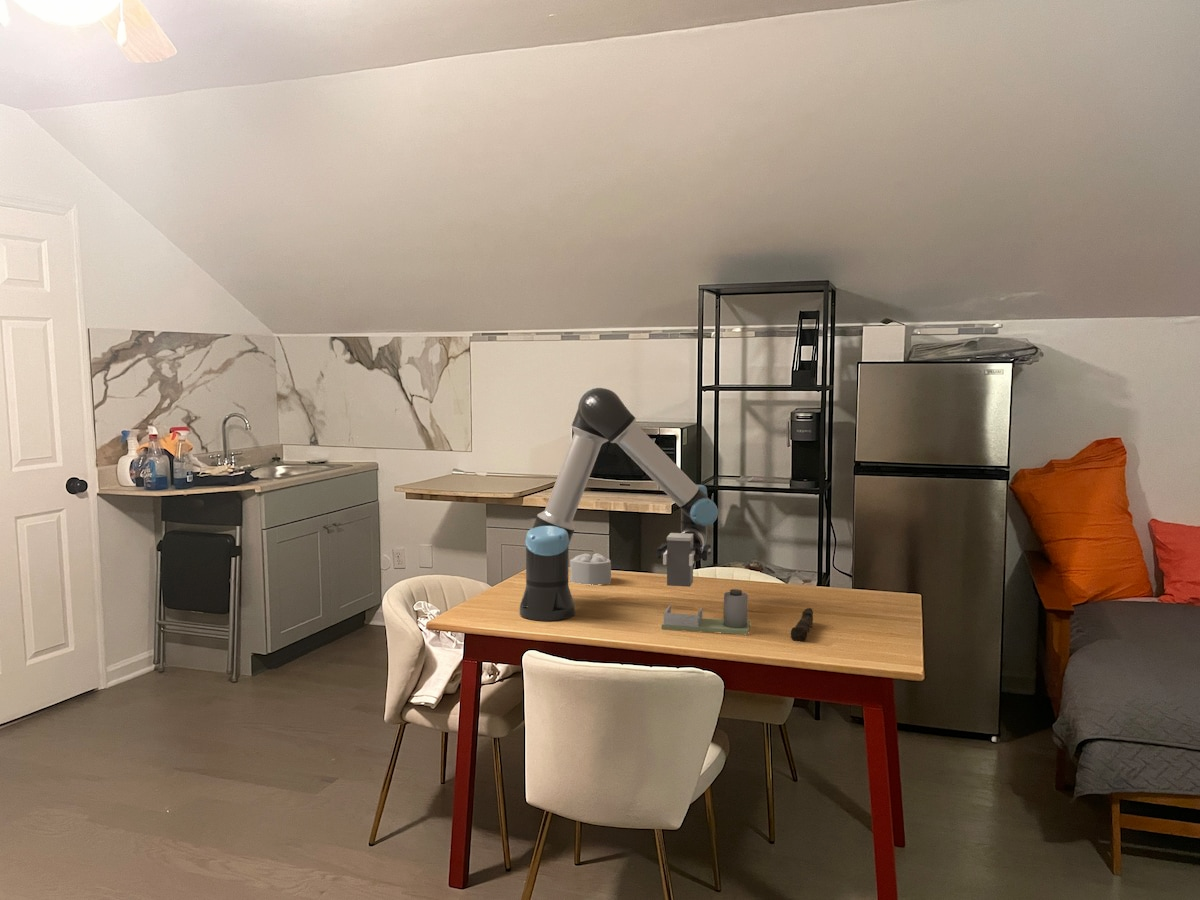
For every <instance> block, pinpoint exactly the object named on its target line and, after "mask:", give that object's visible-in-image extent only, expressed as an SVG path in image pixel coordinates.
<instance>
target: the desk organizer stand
mask: <svg viewBox="0 0 1200 900" xmlns="http://www.w3.org/2000/svg"><path fill="white" fill-rule="evenodd" d="M748 596H749V595H748V593H747V592H743V591H742V589H735V588H734V589H730V590H729V591H727V592H724V594H723V619H720V618H705V617H703V619H702V621H701V623H700V625H699V627H689V626H675V625H664V621H663V622H662V623H661V630H667V629H673V630H672V631H681V630H686V631H685V632H695V631H702V632H701V633H709V632H721V633H720V634H723V633H731V634H730V635H736V634H746V635H745V636H748V635H749V633H748V632H749V631H750V629H749V628H751V621H749V620H748V608H749V607H748V603H749V602H748V601H749V599H748Z"/></svg>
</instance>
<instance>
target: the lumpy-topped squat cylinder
mask: <svg viewBox="0 0 1200 900" xmlns="http://www.w3.org/2000/svg"><path fill="white" fill-rule="evenodd" d="M569 560H570V561H569V563H570V565H569V567H570V568H569V570H570V571H569V573H570V574H569V582H570V581H571V582H575V583H581V584H591V585H592V584H593V585H598V584H609V583H611V584H612V561H611V559H610V558H607V557H605V556H604V555H602V554H601V553H594V554H592V555H591V554H589V553H582V554H578V555H575V557H573V558H571V559H569ZM571 582H570V583H571ZM575 583H574V584H575ZM581 584H580V585H581ZM609 585H610V584H609Z"/></svg>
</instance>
